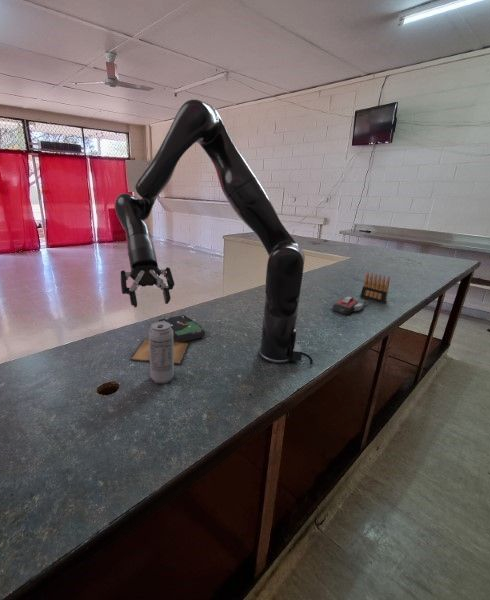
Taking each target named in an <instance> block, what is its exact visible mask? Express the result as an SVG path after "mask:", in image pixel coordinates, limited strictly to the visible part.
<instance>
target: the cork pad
mask: <svg viewBox="0 0 490 600" xmlns="http://www.w3.org/2000/svg"><path fill="white" fill-rule="evenodd" d="M188 346H189V343H188V342H177V341H173V348H174V365H181V362H182V359H183V357H184V355H185V352H186V350H187V348H188ZM131 361H140V362H141V361H142V362H150V354H149V338H147V339H146V338H145V339H144V340H143V342H142V343H141V344H140V346H139V347H138V348H137V350H136V352H135V353H134V354H133V356H132V357H131Z"/></svg>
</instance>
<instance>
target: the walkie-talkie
mask: <svg viewBox="0 0 490 600" xmlns="http://www.w3.org/2000/svg"><path fill="white" fill-rule="evenodd" d="M368 302H369V299H365V300H364V301H362V302H359V301H358V300H357V299H354V297H352V296H348V295H347V296H346V297H342V298H341V299H339V300H338V301H336V302H334V303H333V306H332V311H334V312H338V313H341V314H344V315H345V314H346V315H349V314H351V313H352V312H358V311H361V310H362V309H364V305H365V304H367V303H368Z"/></svg>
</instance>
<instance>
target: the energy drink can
mask: <svg viewBox="0 0 490 600" xmlns="http://www.w3.org/2000/svg"><path fill="white" fill-rule="evenodd" d="M148 340H149V354H150V361H149V375H150V376H149V377H150V378H151V379H152V380H153V382H154V383H156V384H167V383H169V382H170V381H171V380H172V378H173V377H174V375H175V364H174V348H173V342H174V339H173V329H172V328H171V324H170V323H168V322H164V321H159V320H158V321H155V322H152V323H151V324H150V328H149V329H148Z"/></svg>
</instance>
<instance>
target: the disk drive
mask: <svg viewBox="0 0 490 600" xmlns="http://www.w3.org/2000/svg"><path fill="white" fill-rule="evenodd" d="M159 321H164V322H168V323H170V324H171V328H172V329H173V341H174V342H181V343H183V342H186V341H190V340H194V339H198V338H203V337H205V335H206V330H205V329H204V328H203V326H201V325H199V324H198V323H197V322H195V321H194V320H193V319H192V318H189V316H187V315H185V314H181V315H176V316H170V317H169V318H167V319H166V318H161V319H158V322H159Z"/></svg>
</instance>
